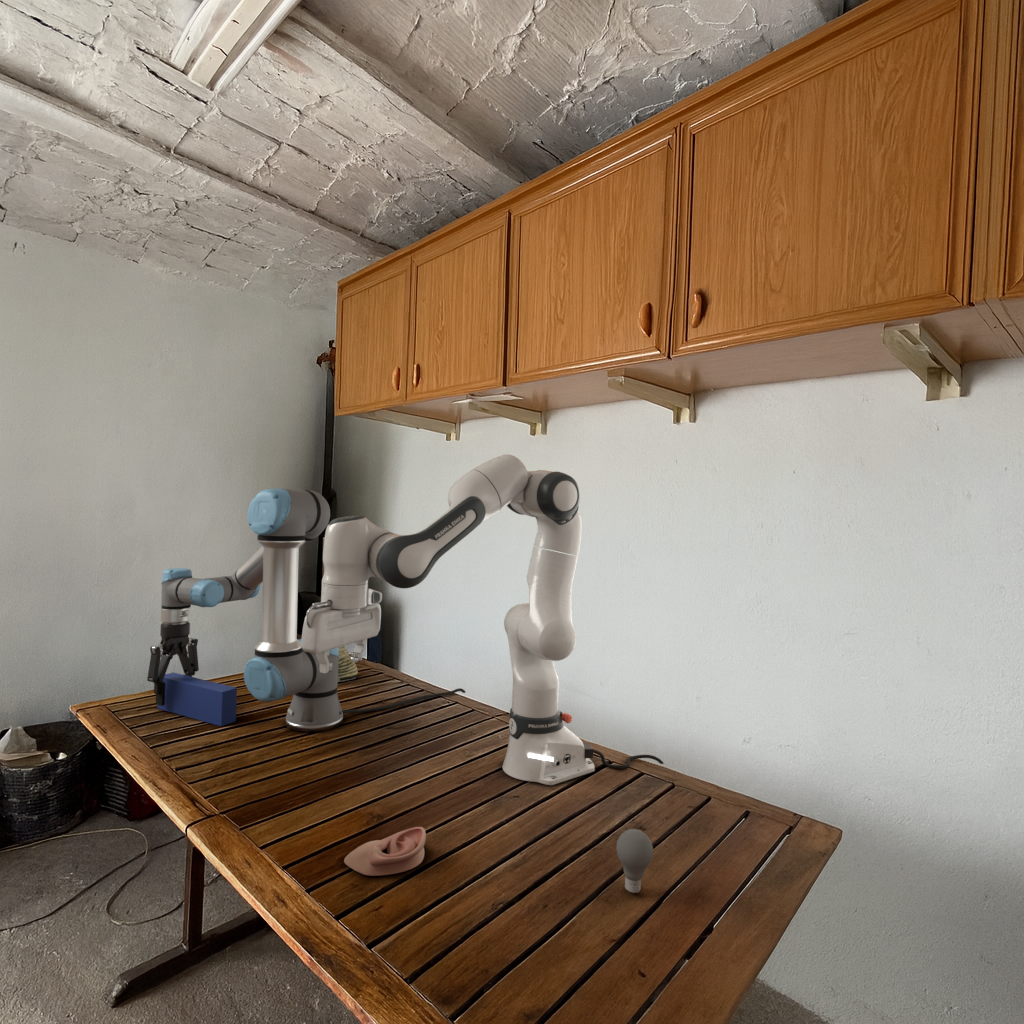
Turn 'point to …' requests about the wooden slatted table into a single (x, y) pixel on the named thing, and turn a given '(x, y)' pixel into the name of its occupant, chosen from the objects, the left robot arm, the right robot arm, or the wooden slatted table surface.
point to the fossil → (346, 666)
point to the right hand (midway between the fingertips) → (341, 666)
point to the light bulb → (634, 857)
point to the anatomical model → (389, 853)
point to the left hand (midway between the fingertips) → (172, 700)
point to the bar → (200, 699)
